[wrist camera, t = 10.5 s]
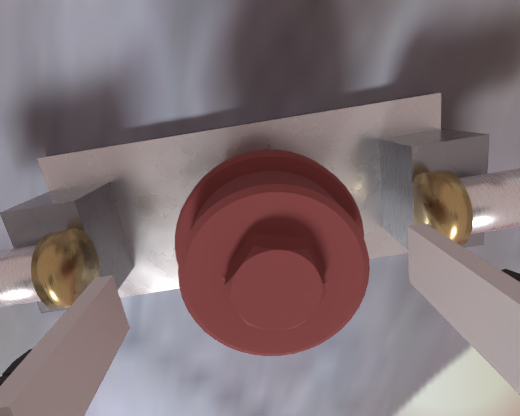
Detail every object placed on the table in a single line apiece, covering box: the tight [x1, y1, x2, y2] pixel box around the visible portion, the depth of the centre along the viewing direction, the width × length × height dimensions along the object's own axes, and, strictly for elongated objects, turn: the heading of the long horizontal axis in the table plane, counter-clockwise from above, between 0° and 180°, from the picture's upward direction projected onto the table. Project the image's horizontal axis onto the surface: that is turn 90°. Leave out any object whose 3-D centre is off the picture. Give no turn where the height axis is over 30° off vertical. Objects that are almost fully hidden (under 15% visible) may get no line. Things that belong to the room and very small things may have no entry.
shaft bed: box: [0, 93, 520, 313], centre depth 21 cm, size 36×12×10 cm, turn 99°
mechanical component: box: [175, 150, 370, 356], centre depth 19 cm, size 12×10×10 cm
